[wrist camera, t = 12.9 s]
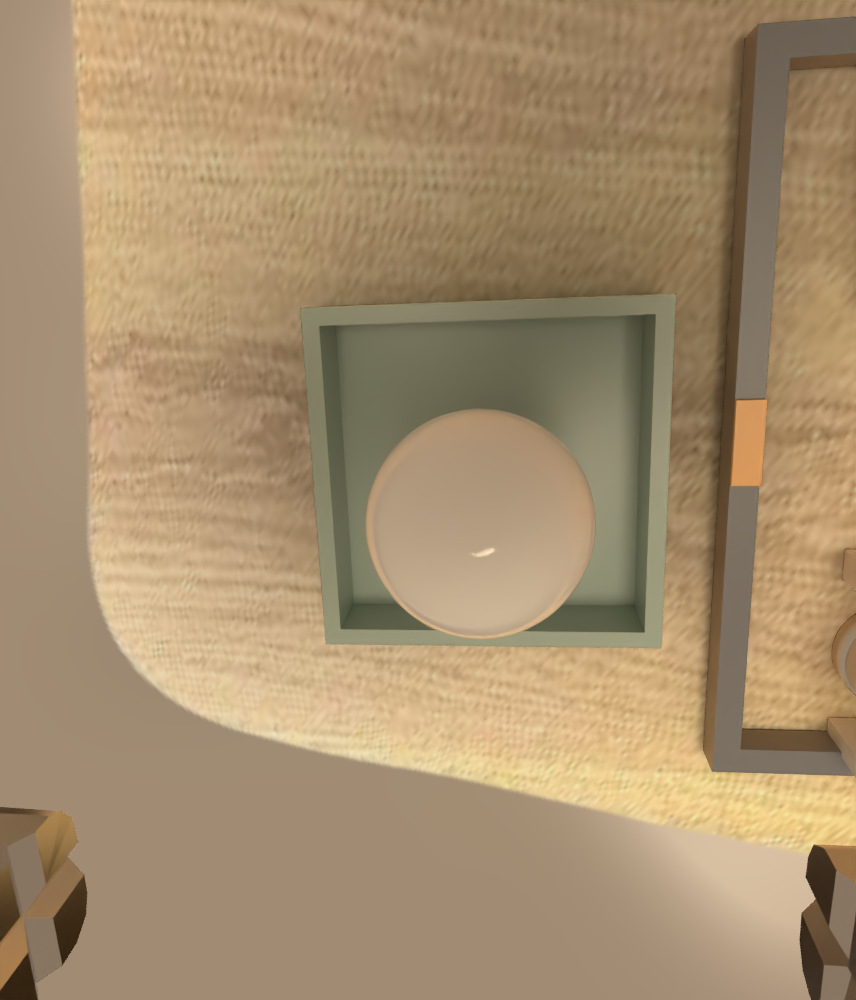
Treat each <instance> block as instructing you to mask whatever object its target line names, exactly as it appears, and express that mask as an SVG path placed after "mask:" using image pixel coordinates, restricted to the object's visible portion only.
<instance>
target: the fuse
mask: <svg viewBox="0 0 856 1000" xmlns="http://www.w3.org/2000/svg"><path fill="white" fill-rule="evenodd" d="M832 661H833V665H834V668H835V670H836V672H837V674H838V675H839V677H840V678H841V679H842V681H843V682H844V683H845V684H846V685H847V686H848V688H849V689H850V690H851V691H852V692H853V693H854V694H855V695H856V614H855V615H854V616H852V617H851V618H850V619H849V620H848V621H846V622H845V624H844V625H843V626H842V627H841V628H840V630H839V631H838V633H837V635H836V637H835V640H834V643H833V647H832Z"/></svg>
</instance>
